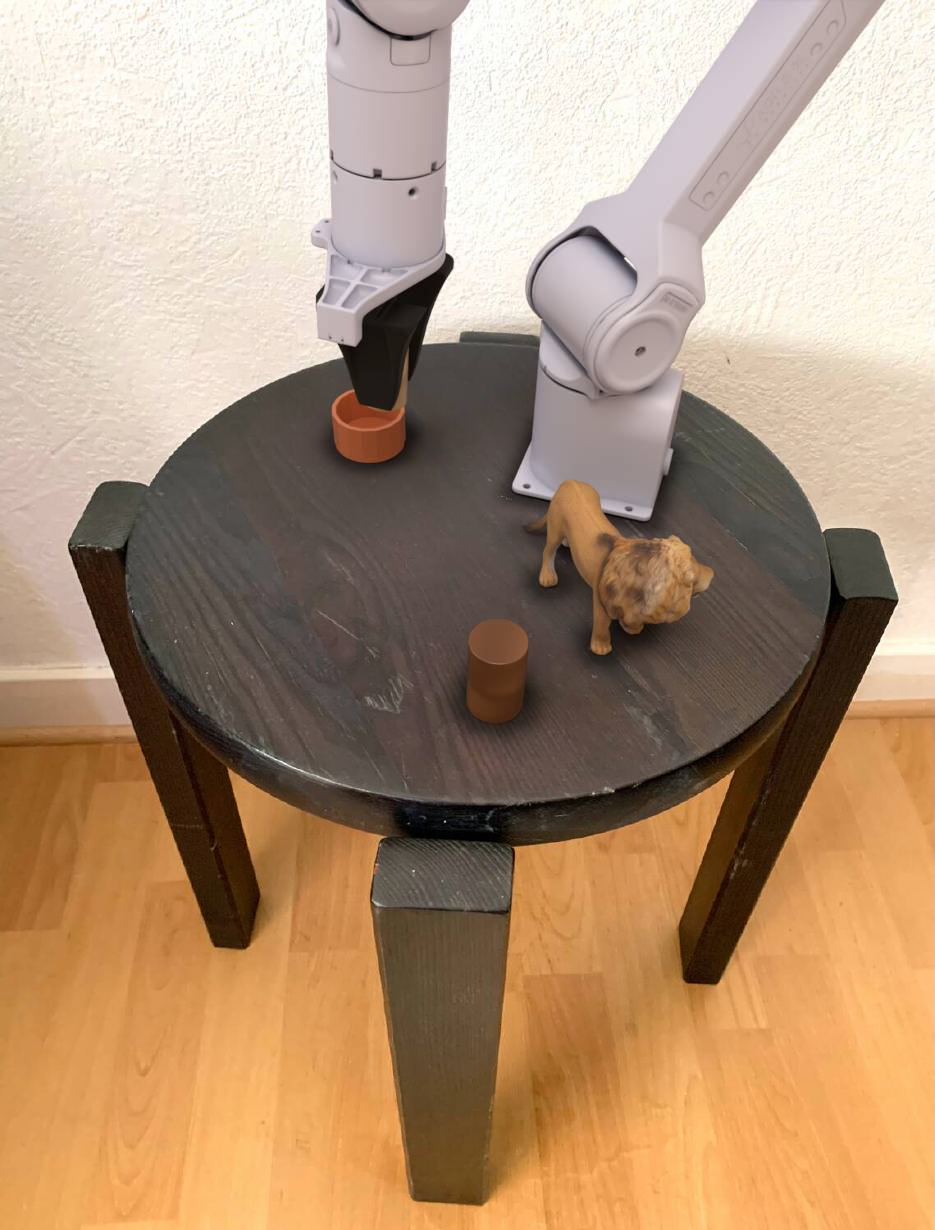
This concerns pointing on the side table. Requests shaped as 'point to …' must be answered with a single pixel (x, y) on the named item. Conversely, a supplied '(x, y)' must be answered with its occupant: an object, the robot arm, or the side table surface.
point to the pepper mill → (403, 390)
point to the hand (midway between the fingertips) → (386, 389)
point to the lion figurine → (618, 565)
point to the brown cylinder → (496, 670)
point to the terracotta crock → (366, 430)
